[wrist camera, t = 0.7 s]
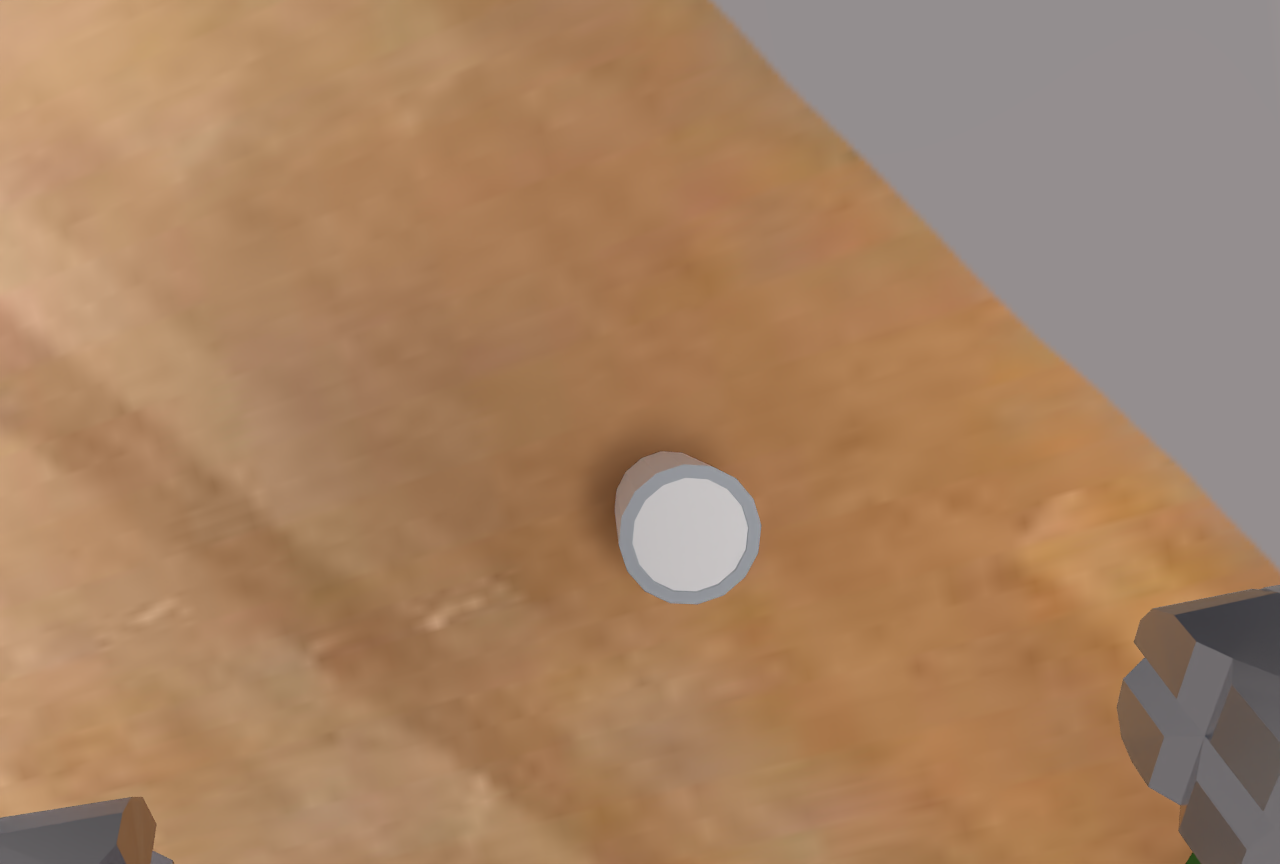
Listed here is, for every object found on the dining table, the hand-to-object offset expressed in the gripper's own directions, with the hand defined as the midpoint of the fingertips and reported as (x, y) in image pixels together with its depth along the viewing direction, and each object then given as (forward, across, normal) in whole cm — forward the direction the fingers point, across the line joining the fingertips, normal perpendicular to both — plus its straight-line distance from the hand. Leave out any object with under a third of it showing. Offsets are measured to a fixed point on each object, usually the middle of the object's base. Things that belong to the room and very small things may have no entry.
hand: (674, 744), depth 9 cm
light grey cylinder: (+41, +8, -31) cm, 52 cm away
